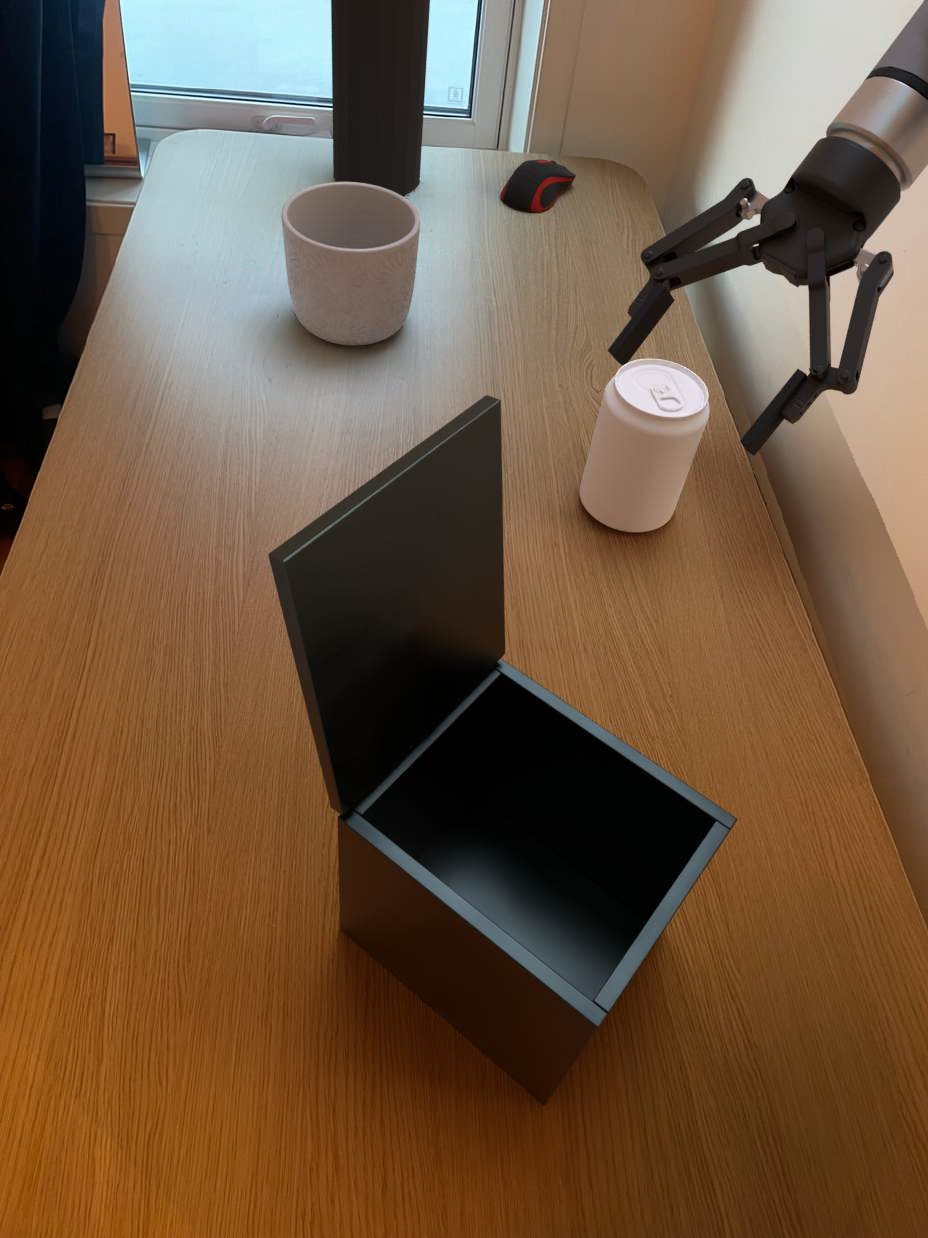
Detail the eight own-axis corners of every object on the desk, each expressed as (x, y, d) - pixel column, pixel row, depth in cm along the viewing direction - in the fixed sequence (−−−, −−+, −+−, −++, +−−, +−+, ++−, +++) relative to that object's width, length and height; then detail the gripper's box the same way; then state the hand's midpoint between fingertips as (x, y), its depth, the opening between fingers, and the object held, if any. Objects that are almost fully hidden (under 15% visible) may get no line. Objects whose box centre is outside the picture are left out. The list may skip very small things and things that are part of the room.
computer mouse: (579, 183, 115) (586, 150, 112) (538, 217, 109) (543, 183, 106) (535, 167, 117) (540, 134, 114) (491, 199, 110) (495, 165, 107)
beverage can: (648, 465, 83) (685, 349, 73) (688, 529, 78) (734, 414, 69) (563, 478, 80) (591, 360, 71) (600, 544, 76) (635, 427, 67)
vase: (339, 199, 107) (337, -127, 84) (327, 157, 113) (321, -158, 90) (427, 197, 109) (448, -121, 86) (410, 156, 115) (426, -151, 92)
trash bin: (664, 926, 56) (738, 818, 45) (544, 1106, 49) (598, 1029, 38) (472, 783, 61) (498, 656, 50) (339, 929, 54) (336, 817, 43)
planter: (278, 290, 94) (271, 183, 86) (397, 282, 97) (402, 177, 89) (299, 364, 87) (293, 255, 79) (428, 352, 90) (436, 246, 82)
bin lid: (501, 399, 39) (486, 393, 39) (282, 562, 32) (266, 553, 32) (506, 654, 50) (493, 647, 50) (342, 816, 43) (330, 808, 43)
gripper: (1012, 265, 67) (814, 502, 72) (740, 127, 78) (582, 341, 82) (1019, 213, 61) (800, 478, 65) (720, 71, 71) (550, 307, 76)
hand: (678, 402), depth 74 cm, fingers open, 13 cm apart
